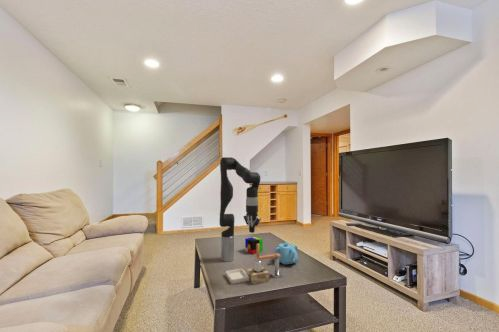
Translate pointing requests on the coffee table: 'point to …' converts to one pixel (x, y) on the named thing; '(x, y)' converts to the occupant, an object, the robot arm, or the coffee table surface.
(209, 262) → the coffee table surface
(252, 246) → the puzzle toy
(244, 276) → the tray
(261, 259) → the bar
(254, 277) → the block
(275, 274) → the pivot post
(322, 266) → the coffee table surface
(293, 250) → the decorative pot
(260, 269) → the silver metal cylinder
